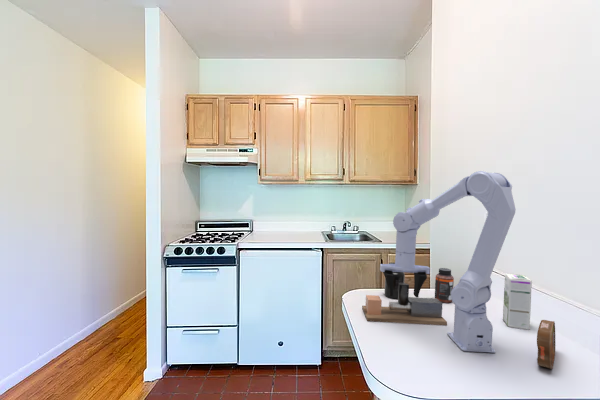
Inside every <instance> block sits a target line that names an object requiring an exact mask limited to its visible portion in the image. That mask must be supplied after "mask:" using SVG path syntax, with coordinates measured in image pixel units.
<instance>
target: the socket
mask: <svg viewBox="0 0 600 400" xmlns="http://www.w3.org/2000/svg"><path fill="white" fill-rule="evenodd" d="M382 303H383V302H382V298H381V297H380V295H372V294H366V295H365V305H364V306H365V309H366V311H367V314H373V315H381V306H382Z"/></svg>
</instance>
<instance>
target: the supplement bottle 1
mask: <svg viewBox="0 0 600 400" xmlns="http://www.w3.org/2000/svg"><path fill="white" fill-rule="evenodd" d="M388 264H395V262H389V263H388ZM392 273H393V275H394V281H393V296H390V295H389V290H388V285H387V281H386V278H385V277H384V296H385V297H387V298H389V299H392V300H398V290H399V283H405V277H406V275H405V274H406V273H405V272H392Z"/></svg>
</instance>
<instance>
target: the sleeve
mask: <svg viewBox="0 0 600 400" xmlns="http://www.w3.org/2000/svg"><path fill="white" fill-rule="evenodd" d="M408 302H409V303H411V311H408V313H409V314H410V316H412V317H431V318H442V317H443V302H440V301H439V300H438V299H436V298H435V297H434V298H433V297H432V298H431V297H415V296H414V297H413V296H412V297H411V296H408Z"/></svg>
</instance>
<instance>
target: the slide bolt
mask: <svg viewBox="0 0 600 400" xmlns="http://www.w3.org/2000/svg"><path fill="white" fill-rule="evenodd" d="M409 293H410V284H408V283H407V282H404V283H399V290H398V299H397V301H389V302H388V307H389V309H390V310H405V311H411V303H409V302H408V297H410V296H409V295H410V294H409Z"/></svg>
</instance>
